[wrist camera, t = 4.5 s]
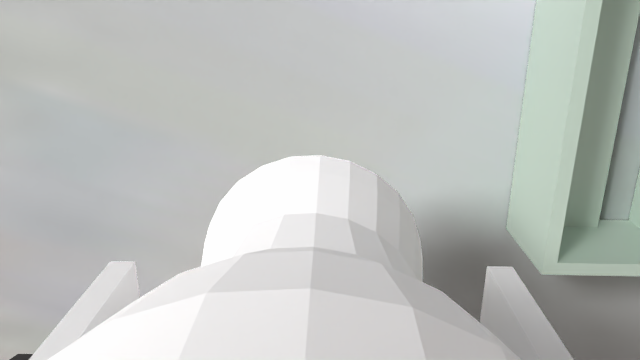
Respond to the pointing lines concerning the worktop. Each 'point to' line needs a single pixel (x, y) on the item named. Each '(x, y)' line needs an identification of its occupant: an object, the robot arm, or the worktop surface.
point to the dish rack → (574, 140)
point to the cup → (299, 281)
